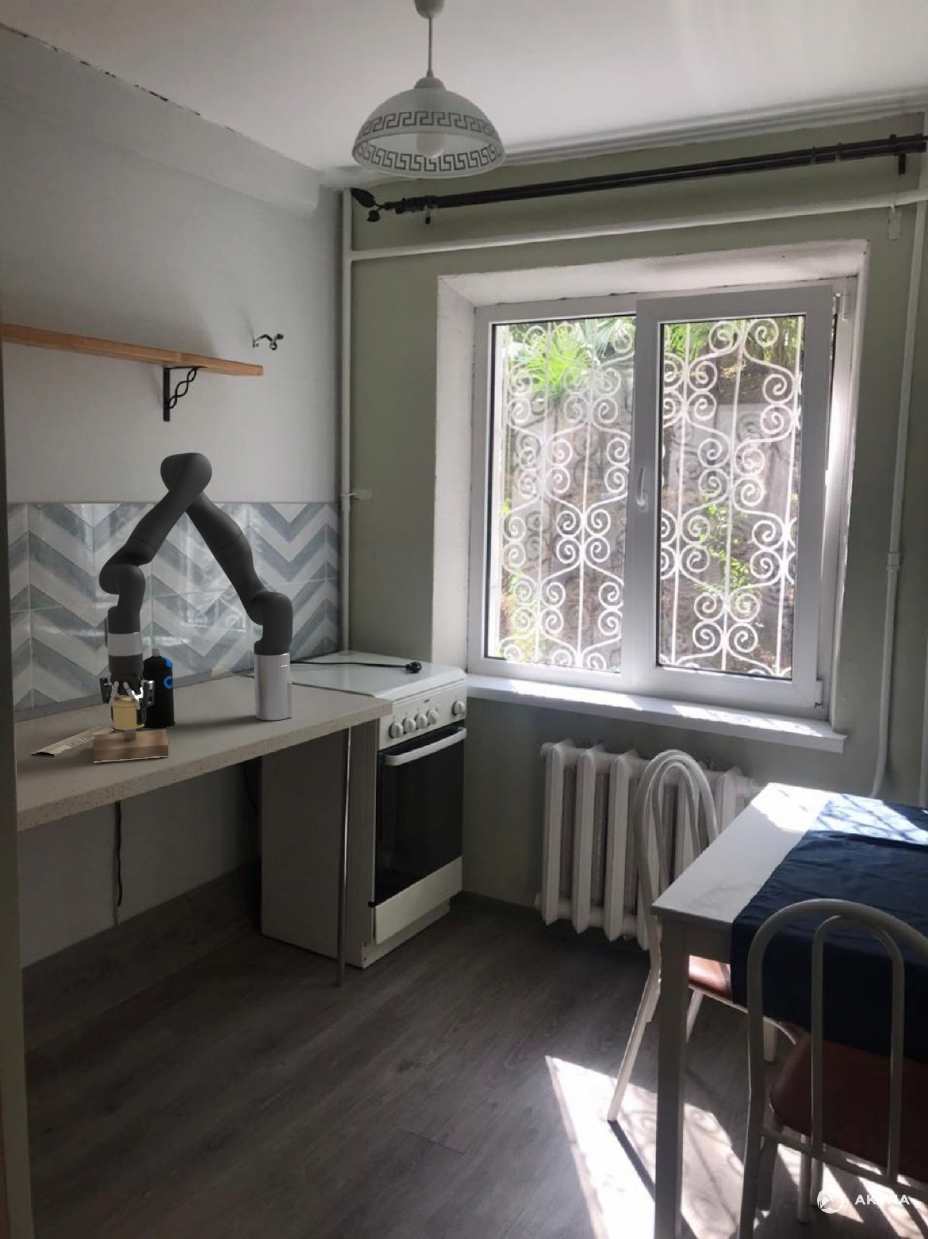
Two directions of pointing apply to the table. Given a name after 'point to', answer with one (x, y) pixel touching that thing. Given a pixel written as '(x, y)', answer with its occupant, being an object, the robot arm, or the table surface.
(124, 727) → the cap
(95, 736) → the bolt base
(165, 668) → the aerosol can
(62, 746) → the newspaper
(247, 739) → the table surface
